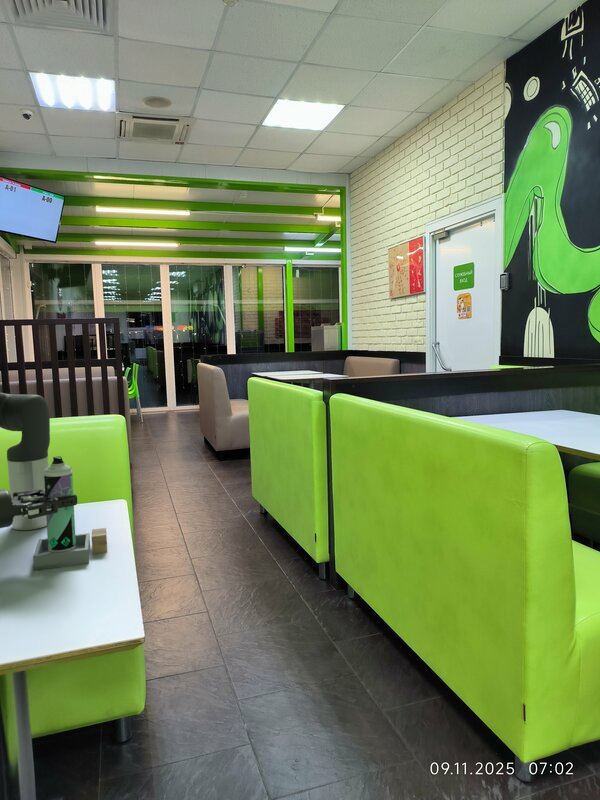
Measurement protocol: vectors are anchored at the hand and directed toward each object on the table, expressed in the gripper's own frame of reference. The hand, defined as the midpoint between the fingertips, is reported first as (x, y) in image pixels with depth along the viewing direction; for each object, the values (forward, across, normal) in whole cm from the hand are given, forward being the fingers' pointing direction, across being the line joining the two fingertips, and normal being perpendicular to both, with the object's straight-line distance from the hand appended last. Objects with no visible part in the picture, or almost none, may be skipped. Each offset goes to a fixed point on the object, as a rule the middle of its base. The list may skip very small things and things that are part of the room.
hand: (71, 496), depth 119 cm
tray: (-2, 0, +13) cm, 13 cm away
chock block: (+5, 0, +13) cm, 14 cm away
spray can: (-3, 0, +11) cm, 11 cm away
